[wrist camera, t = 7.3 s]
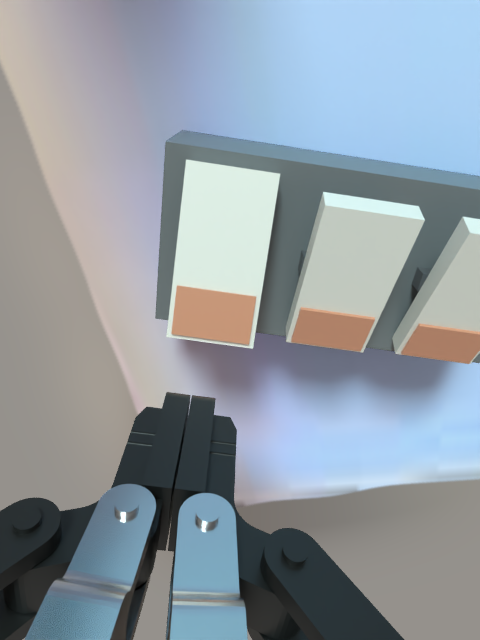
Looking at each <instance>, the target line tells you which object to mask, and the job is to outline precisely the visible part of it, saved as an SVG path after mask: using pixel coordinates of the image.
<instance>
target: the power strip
mask: <svg viewBox="0 0 480 640" xmlns="http://www.w3.org/2000/svg"><path fill="white" fill-rule="evenodd" d="M186 160H193V161H200V162H206V163H213V164H219V165H226V166H233V167H239V168H246V169H252V170H259V171H265V172H272V173H279V174H280V179H279V186H278V192H277V198H276V205H275V211H274V217H273V224H272V230H271V237H270V243H269V249H268V256H267V262H266V268H265V275H264V281H263V288H262V294H261V300H260V307H259V313H258V319H257V326H256V332H258V333H265V334H272V335H279V336H286V324H287V321H288V317H289V313H290V310H291V306H292V303H293V299H294V295H295V292H296V288H297V285H298V281H299V277H300V274H301V270H302V266H303V263H304V259H305V256H306V252H307V248H308V245H309V241H310V238H311V234H312V230H313V227H314V223H315V219H316V216H317V212H318V209H319V205H320V201H321V198H322V194H323V192H328V193H335V194H341V195H348V196H354V197H361V198H368V199H374V200H381V201H388V202H394V203H401V204H407V205H414V206H419V208H420V210H421V212H422V215H423V217H424V219H425V221H424V223H423V226H422V228H421V230H420V232H419V234H418V236H417V238H416V241H415V243H414V245H413V247H412V249H411V251H410V253H409V255H408V258H407V260H406V262H405V264H404V266H403V268H402V270H401V273H400V275H399V277H398V279H397V281H396V283H395V285H394V287H393V290H392V292H391V294H390V296H389V298H388V300H387V302H386V305H385V307H384V309H383V311H382V313H381V315H380V317H379V320H378V322H377V324H376V326H375V328H374V330H373V332H372V334H371V337H370V339H369V341H368V343H367V345H366V348H374V349H381V350H388V351H395V350H394V345H393V340H392V338H393V335H394V333H395V332H396V330H397V328H398V326H399V325H400V323H401V321H402V320H403V318H404V316H405V314H406V313H407V311H408V309H409V308H410V306H411V304H412V302H413V301H414V299H415V297H416V296H417V294H418V292H419V290H420V289H421V287H422V285H423V284H424V282H425V280H426V278H427V277H428V275H429V273H430V272H431V270H432V268H433V266H434V265H435V263H436V261H437V260H438V258H439V256H440V254H441V253H442V251H443V249H444V248H445V246H446V244H447V242H448V241H449V239H450V237H451V236H452V234H453V232H454V231H455V229H456V227H457V225H458V224H459V222H460V220H461V219H462V217H469V218H476V219H480V176H475V175H468V174H462V173H455V172H449V171H442V170H436V169H430V168H423V167H417V166H410V165H404V164H397V163H391V162H384V161H378V160H371V159H365V158H358V157H352V156H345V155H339V154H332V153H326V152H320V151H313V150H307V149H300V148H294V147H287V146H281V145H274V144H268V143H261V142H255V141H248V140H242V139H235V138H229V137H222V136H216V135H209V134H203V133H197V132H190V131H184V130H182V131H180V132H179V133H177V134H176V135H174V136H173V137H172V138H170V139H169V140H167V141H166V145H165V162H164V179H163V196H162V214H161V231H160V248H159V265H158V282H157V300H156V317H155V318H156V319H163V320H168V319H169V310H170V301H171V292H172V283H173V274H174V264H175V255H176V246H177V237H178V228H179V219H180V210H181V201H182V192H183V183H184V174H185V165H186ZM472 362H475V363H480V353H479V354H478V355H477V356H476V358H475V359H474V360H473V361H472Z"/></svg>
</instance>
